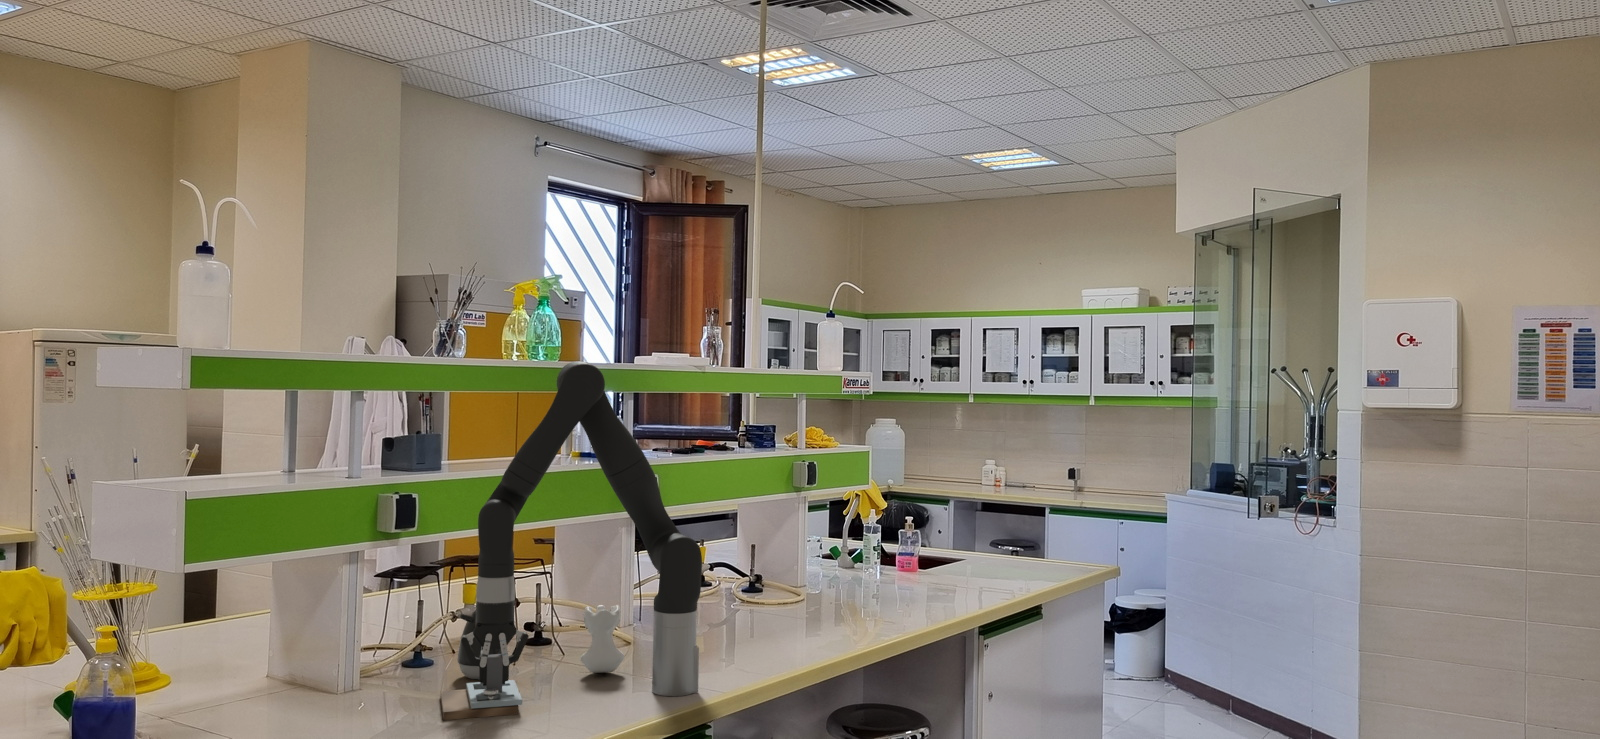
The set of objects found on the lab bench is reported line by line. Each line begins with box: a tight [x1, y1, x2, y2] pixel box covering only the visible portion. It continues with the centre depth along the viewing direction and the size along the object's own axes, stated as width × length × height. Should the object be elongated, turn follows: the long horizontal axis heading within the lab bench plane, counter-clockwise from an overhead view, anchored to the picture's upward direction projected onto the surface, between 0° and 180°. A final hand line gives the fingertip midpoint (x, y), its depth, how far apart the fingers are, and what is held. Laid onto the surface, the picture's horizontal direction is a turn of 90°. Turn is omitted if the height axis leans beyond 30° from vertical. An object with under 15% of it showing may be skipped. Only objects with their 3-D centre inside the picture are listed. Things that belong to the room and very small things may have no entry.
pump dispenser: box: [456, 609, 501, 680], centre depth 246 cm, size 10×10×15 cm
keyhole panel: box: [465, 654, 523, 709], centre depth 224 cm, size 10×16×8 cm, turn 20°
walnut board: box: [439, 683, 520, 721], centre depth 223 cm, size 14×16×4 cm
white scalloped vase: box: [580, 604, 625, 674], centre depth 251 cm, size 10×11×15 cm
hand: (493, 683), depth 224 cm, fingers closed on keyhole panel, 3 cm apart
